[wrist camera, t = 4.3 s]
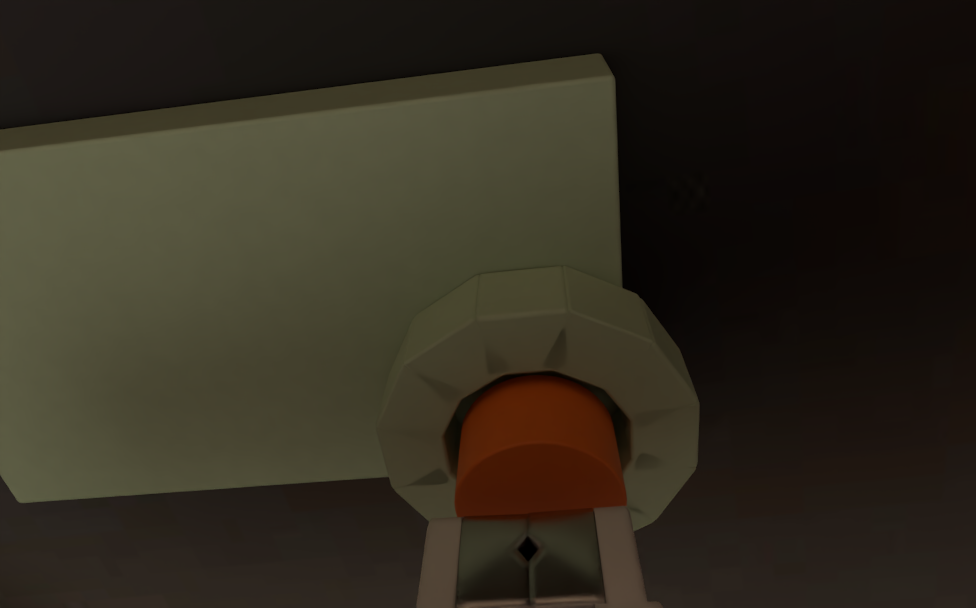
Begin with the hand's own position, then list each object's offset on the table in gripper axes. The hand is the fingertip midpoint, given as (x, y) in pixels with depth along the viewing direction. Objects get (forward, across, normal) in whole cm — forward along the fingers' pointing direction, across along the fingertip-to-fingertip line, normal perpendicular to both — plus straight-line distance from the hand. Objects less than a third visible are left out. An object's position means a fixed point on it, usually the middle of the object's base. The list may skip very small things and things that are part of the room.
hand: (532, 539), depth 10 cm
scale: (+6, +5, -2) cm, 8 cm away
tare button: (+2, 0, 0) cm, 2 cm away
